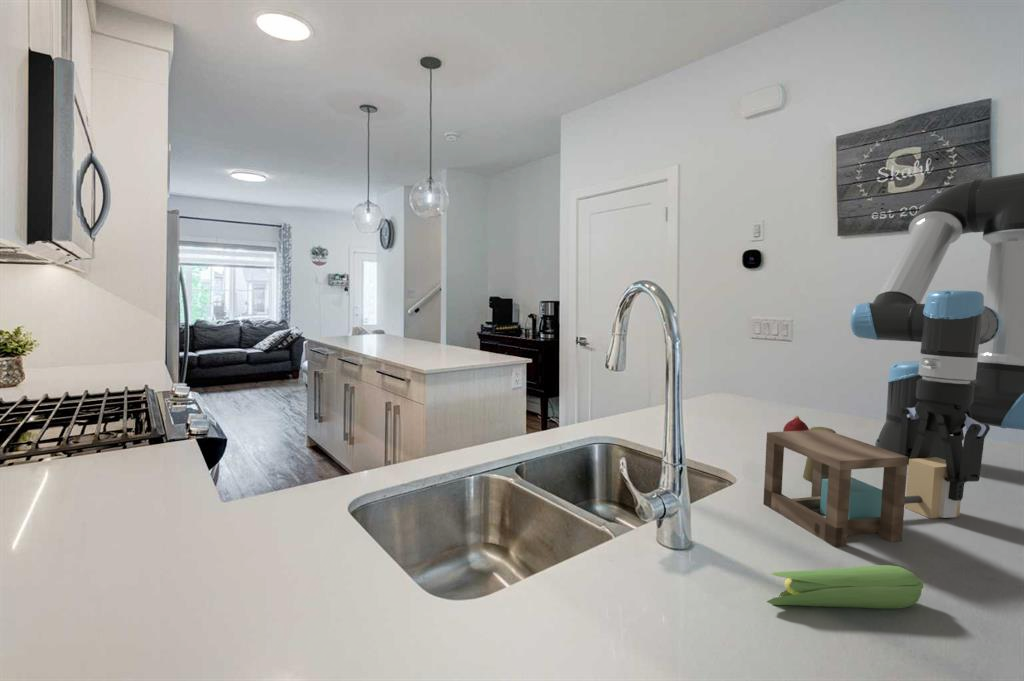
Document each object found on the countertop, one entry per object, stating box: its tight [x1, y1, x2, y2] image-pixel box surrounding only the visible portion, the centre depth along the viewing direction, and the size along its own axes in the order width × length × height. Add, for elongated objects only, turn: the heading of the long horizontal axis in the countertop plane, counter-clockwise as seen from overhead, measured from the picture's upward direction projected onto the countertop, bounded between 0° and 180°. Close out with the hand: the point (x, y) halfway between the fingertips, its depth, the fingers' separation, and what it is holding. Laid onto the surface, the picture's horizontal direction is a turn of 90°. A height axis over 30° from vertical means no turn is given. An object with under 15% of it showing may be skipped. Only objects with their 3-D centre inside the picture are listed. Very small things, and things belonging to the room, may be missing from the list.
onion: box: [782, 415, 810, 432], centre depth 125 cm, size 6×6×8 cm
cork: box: [802, 426, 837, 483], centre depth 102 cm, size 6×6×11 cm
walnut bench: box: [763, 429, 908, 548], centre depth 83 cm, size 12×16×13 cm
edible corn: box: [766, 564, 924, 610], centre depth 61 cm, size 5×20×5 cm
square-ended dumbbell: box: [819, 457, 962, 520], centre depth 85 cm, size 23×6×9 cm, turn 100°
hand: (931, 509), depth 87 cm, fingers closed on square-ended dumbbell, 4 cm apart
